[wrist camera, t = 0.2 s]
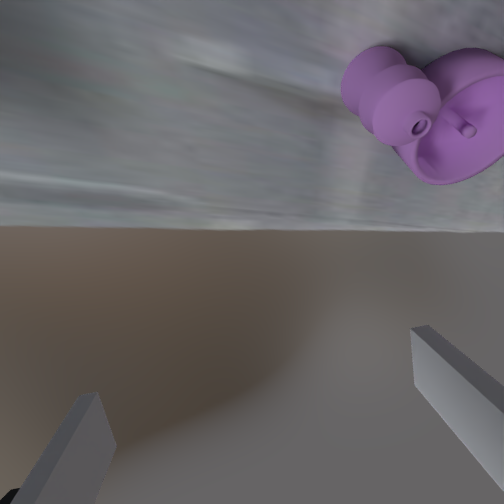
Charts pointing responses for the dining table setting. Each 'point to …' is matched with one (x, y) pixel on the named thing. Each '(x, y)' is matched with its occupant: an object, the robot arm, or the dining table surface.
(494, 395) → the robot arm
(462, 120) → the container set
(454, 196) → the dining table surface
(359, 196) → the dining table surface
